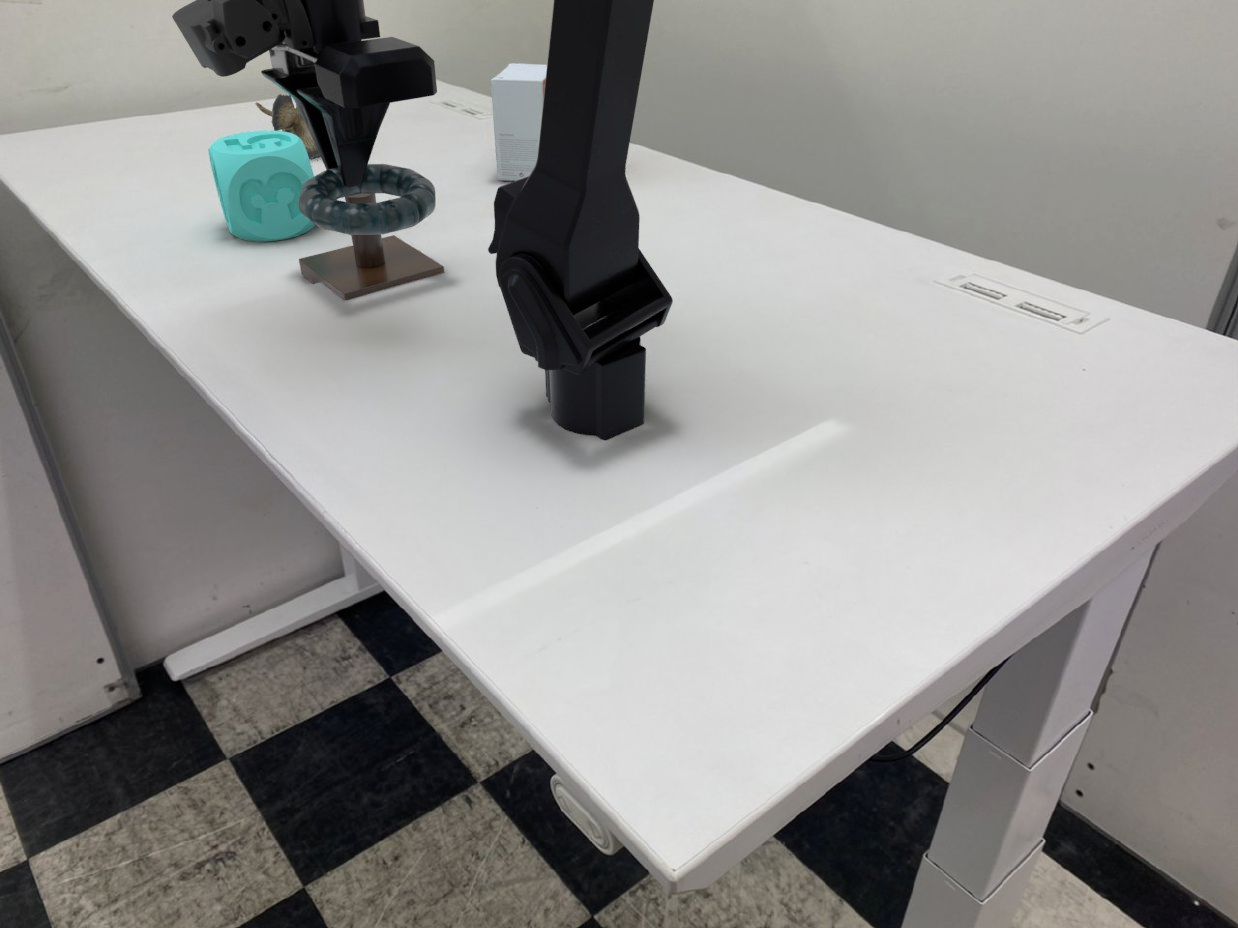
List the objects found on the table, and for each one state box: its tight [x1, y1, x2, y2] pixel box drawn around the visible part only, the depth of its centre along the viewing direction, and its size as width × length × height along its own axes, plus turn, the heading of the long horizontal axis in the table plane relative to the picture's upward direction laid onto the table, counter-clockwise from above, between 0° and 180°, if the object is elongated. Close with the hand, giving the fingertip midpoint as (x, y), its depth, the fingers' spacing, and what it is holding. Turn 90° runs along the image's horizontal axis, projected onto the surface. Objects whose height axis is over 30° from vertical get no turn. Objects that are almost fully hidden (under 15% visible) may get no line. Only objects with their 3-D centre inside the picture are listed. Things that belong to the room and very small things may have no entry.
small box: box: [490, 62, 547, 182], centre depth 100 cm, size 8×6×10 cm
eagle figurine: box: [254, 93, 321, 160], centre depth 108 cm, size 8×7×9 cm
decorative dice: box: [207, 130, 316, 242], centre depth 87 cm, size 8×8×8 cm
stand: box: [298, 193, 445, 301], centre depth 77 cm, size 9×9×8 cm
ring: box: [298, 163, 437, 236], centre depth 63 cm, size 9×9×2 cm
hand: (345, 182), depth 65 cm, fingers closed on ring, 2 cm apart
